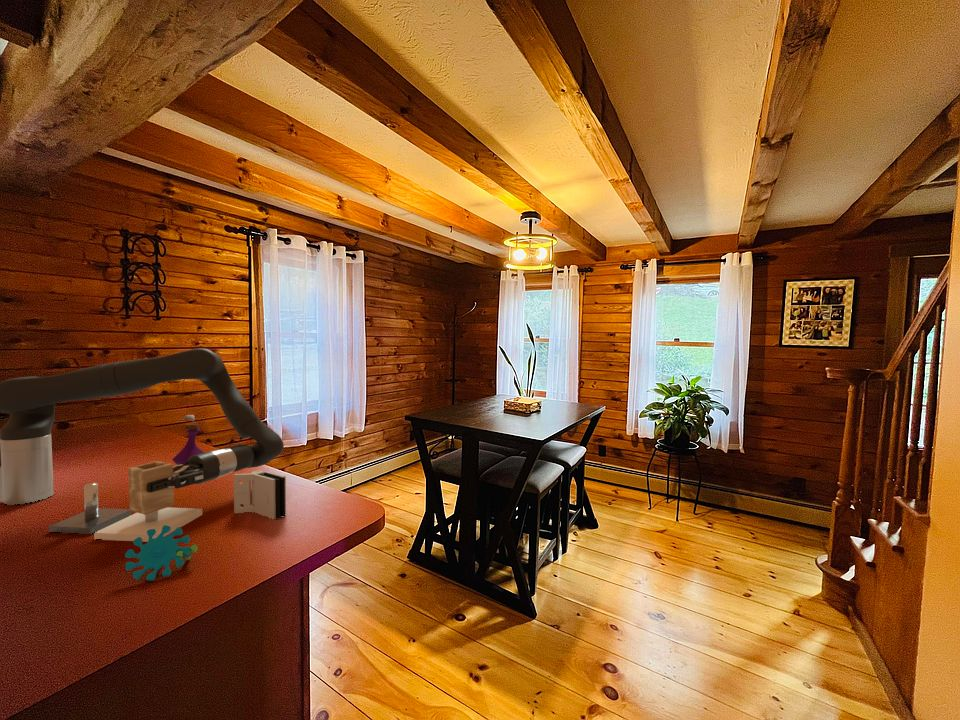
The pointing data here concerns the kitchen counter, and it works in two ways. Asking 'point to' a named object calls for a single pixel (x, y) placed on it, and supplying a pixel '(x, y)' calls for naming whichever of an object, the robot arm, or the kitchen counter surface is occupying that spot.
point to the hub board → (148, 524)
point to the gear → (159, 553)
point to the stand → (90, 515)
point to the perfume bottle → (189, 443)
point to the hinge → (260, 493)
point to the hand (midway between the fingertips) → (139, 485)
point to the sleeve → (138, 487)
